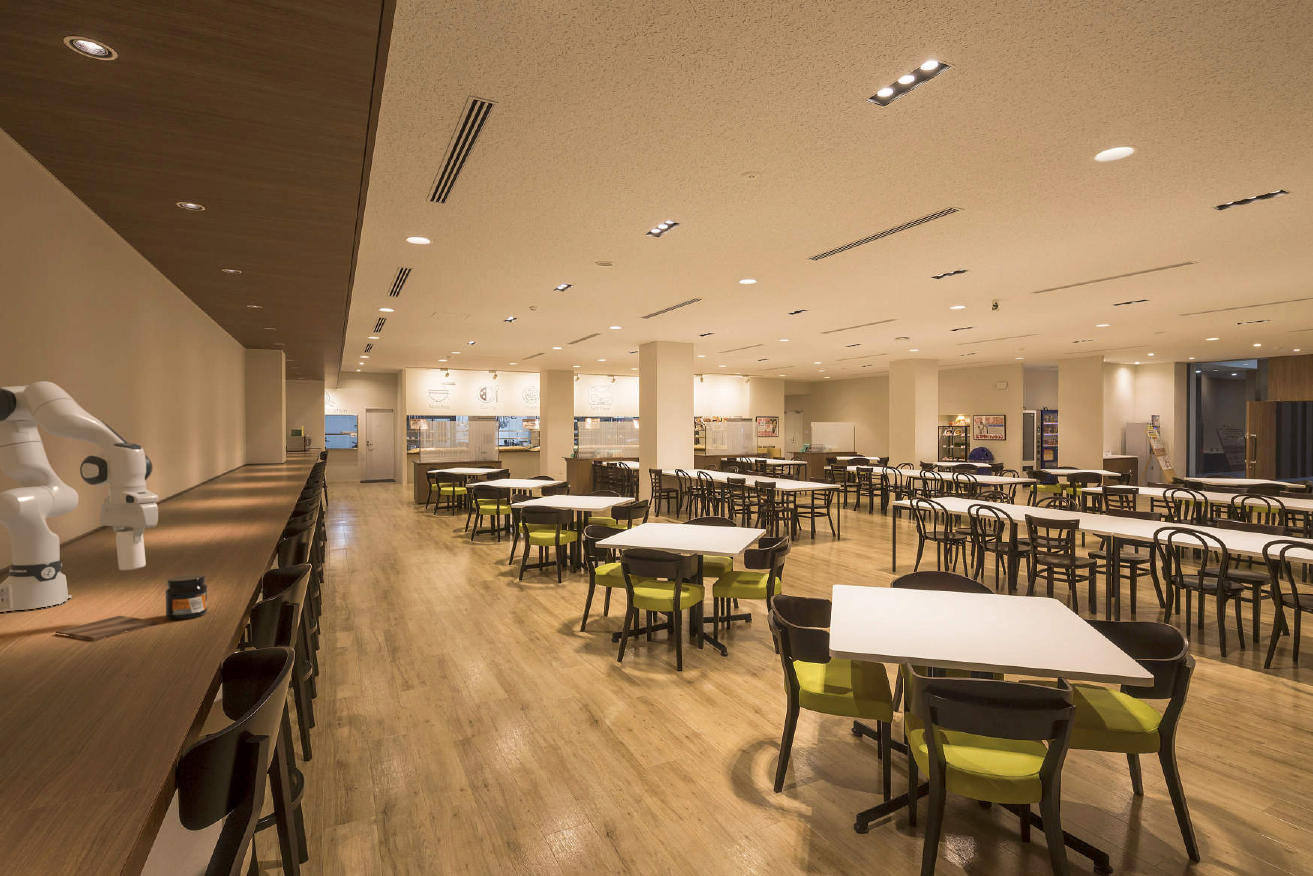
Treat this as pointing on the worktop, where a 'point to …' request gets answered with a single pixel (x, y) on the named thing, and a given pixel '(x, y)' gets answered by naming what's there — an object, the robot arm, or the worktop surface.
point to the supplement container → (186, 597)
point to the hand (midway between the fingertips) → (128, 541)
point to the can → (129, 550)
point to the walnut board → (106, 627)
